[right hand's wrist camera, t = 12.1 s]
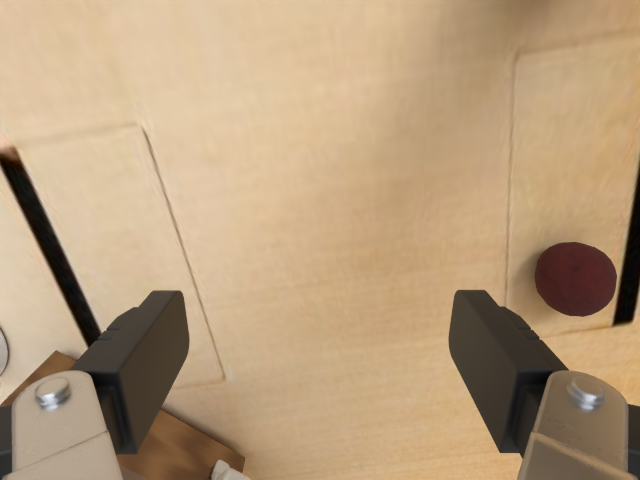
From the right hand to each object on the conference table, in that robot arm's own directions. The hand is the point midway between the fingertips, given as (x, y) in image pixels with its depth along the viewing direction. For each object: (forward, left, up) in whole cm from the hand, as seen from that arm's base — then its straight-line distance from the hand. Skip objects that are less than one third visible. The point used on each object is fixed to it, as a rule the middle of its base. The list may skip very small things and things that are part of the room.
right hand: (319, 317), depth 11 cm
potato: (-17, +23, -30) cm, 42 cm away
